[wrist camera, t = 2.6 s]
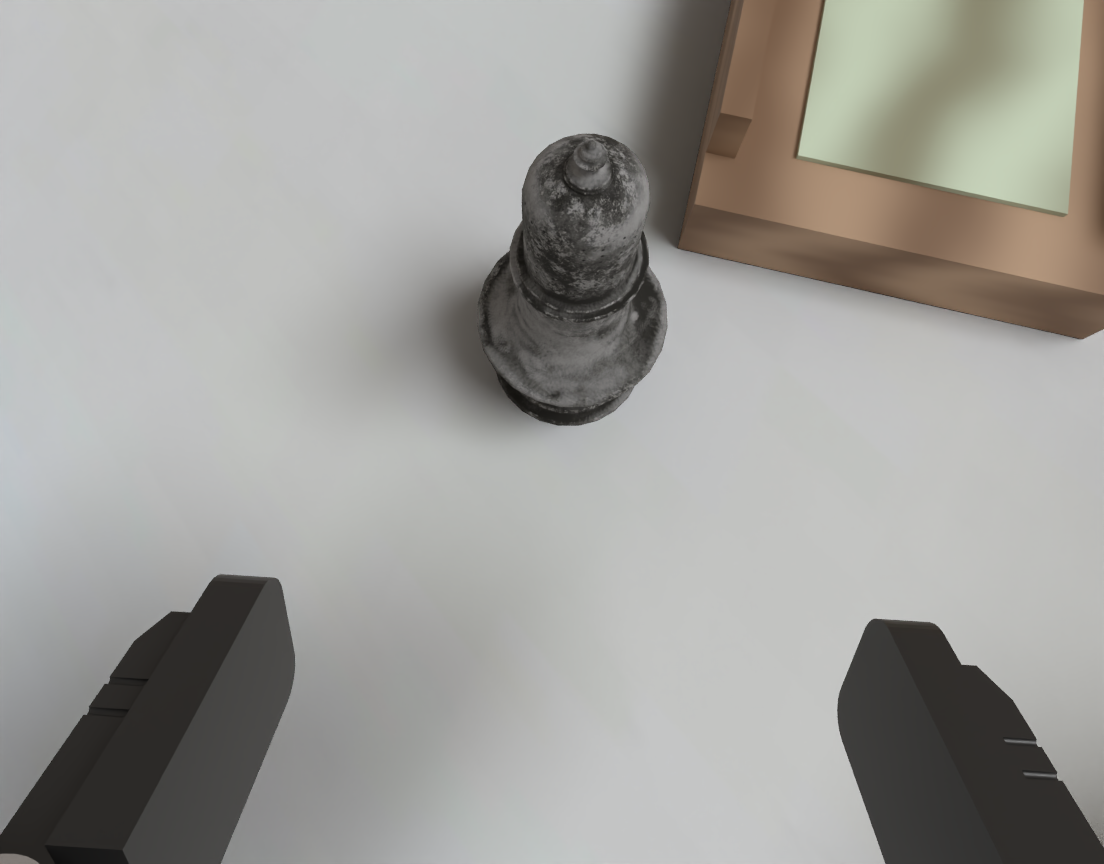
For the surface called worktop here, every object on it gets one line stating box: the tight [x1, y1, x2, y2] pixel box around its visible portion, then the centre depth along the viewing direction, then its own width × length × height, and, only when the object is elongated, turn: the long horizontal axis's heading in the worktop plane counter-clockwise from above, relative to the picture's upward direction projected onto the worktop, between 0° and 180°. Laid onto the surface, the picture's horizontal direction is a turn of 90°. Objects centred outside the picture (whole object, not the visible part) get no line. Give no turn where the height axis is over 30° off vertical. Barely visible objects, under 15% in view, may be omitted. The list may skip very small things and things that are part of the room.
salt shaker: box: [478, 134, 667, 425], centre depth 20 cm, size 6×6×12 cm
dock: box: [678, 0, 1104, 339], centre depth 25 cm, size 15×14×5 cm
